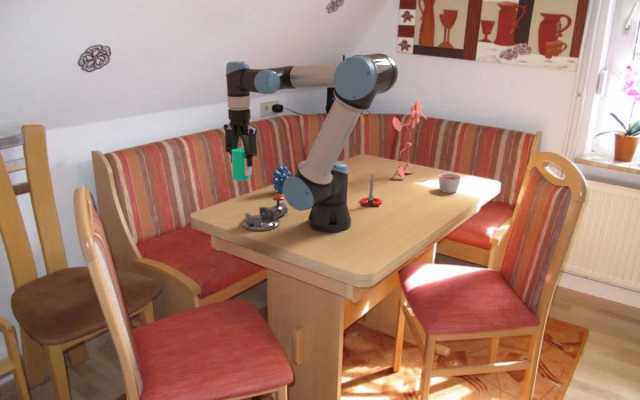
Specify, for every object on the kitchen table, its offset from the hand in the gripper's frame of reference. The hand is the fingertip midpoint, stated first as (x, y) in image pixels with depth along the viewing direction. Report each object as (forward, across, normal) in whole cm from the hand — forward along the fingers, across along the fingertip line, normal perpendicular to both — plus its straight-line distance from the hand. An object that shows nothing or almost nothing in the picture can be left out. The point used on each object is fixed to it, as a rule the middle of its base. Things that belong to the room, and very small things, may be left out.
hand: (242, 173), depth 193 cm
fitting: (+16, -10, -1) cm, 19 cm away
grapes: (+16, +6, -29) cm, 34 cm away
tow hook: (+17, -28, -42) cm, 54 cm away
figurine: (+17, -25, -84) cm, 89 cm away
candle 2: (+18, -46, -77) cm, 91 cm away
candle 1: (+2, 0, 0) cm, 2 cm away
